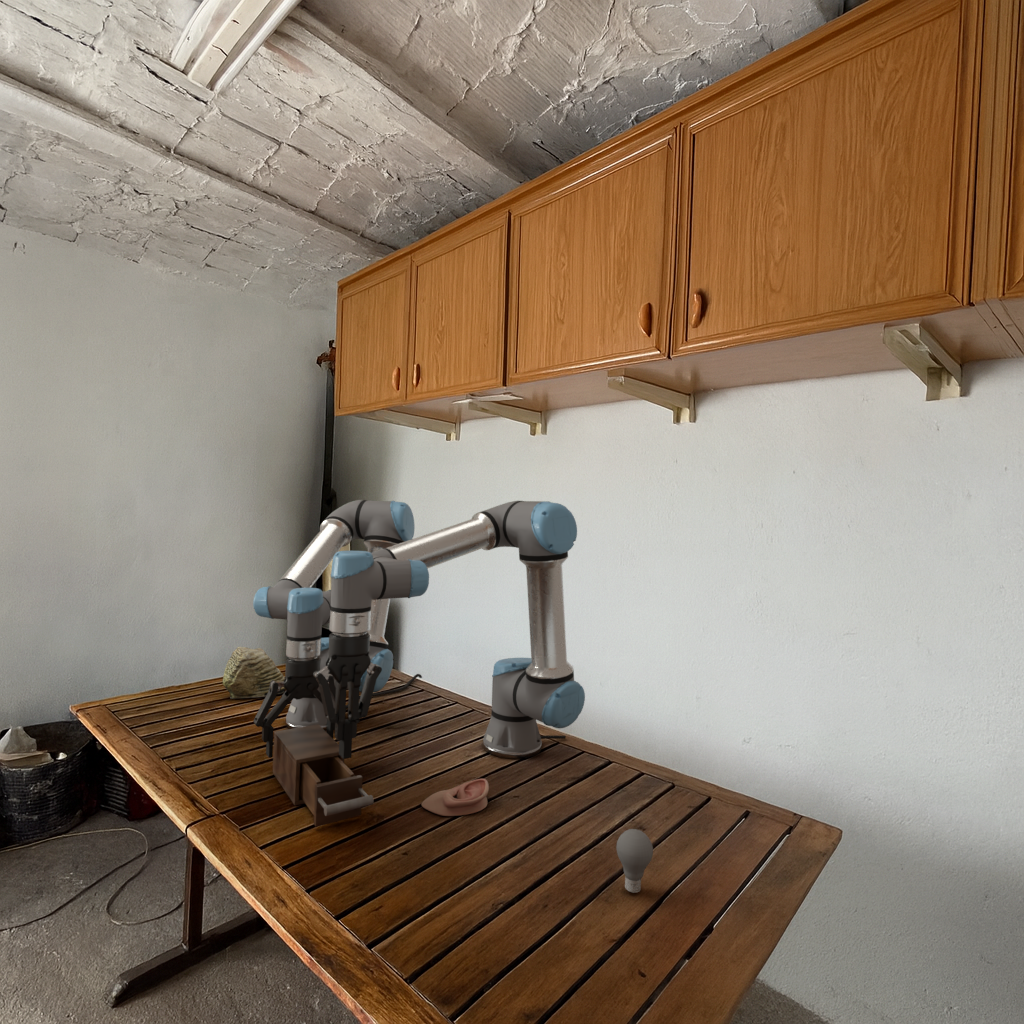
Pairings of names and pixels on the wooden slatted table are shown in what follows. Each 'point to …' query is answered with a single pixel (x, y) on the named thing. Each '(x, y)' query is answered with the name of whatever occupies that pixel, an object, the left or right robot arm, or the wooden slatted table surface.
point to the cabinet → (299, 755)
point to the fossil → (250, 673)
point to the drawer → (331, 790)
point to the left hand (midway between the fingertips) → (300, 749)
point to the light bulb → (634, 857)
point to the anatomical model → (459, 799)
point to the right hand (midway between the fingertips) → (344, 755)
